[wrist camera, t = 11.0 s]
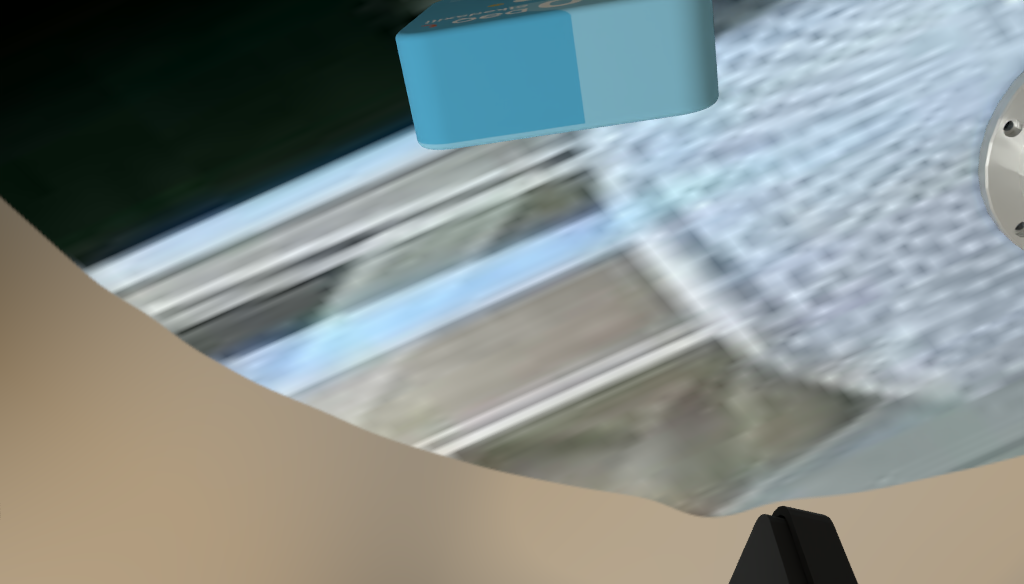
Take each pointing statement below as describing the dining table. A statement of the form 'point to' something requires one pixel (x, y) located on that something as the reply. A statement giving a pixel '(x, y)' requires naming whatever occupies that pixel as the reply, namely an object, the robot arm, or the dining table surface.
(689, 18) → the data package
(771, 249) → the dining table surface
